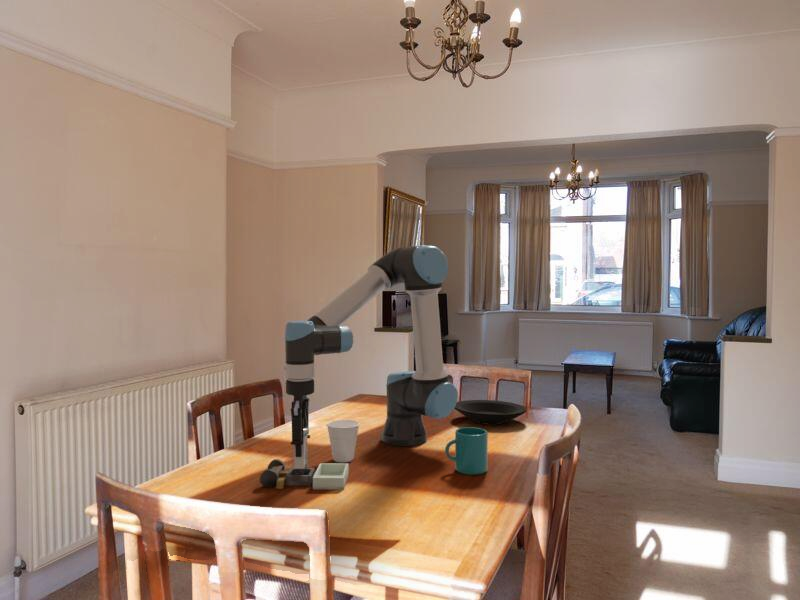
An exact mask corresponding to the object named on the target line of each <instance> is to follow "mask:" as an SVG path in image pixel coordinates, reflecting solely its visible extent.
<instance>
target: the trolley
mask: <svg viewBox="0 0 800 600" xmlns="http://www.w3.org/2000/svg"><path fill="white" fill-rule="evenodd" d="M285 467H286V465H285V463H284V462H283V461H282V460H281V459H279V458H274V459H273V460H271V461H270V462H269V464H268V465H267V469H265V470H263V472H262V473H261V474H260V476H259V483H260V484H261V485H262V486H263V487H264V488H272V487H274V486H275V485H276V489H280V490H281V489H284V487H285V486H301V487H302V486H306V487H308V486H312V485H313V476H314V474H315V472H316V470H315V469H316V468H315V467H308V475H294V467H290V468H289V470H285V469H286V468H285Z"/></svg>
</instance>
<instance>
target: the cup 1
mask: <svg viewBox="0 0 800 600" xmlns="http://www.w3.org/2000/svg"><path fill="white" fill-rule="evenodd" d="M325 425H326V426H327V431H328V436H329V437H328V438H329V442H330V443H329V444H330V449H331V454H332V455H331V457H332V460H333V461H334V463H343V464H346V463H350V462H352V461H353V460H354V457H355V453H356V446H357V445H356V444H357V438H358V433H359V427H360V421H357V420H352V419H336V420H335V419H334V420H331V421H329V422H327V423H326V424H325Z"/></svg>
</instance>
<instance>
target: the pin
mask: <svg viewBox="0 0 800 600" xmlns="http://www.w3.org/2000/svg"><path fill="white" fill-rule="evenodd" d="M309 430H310V428H307V427H304V439H303V441H304V445H305V468H304V469H294V475H308V468H309V466H308V462H309V461H308V459H309V458H308V438H307V435H308V434H309V433H310V431H309ZM307 433H308V434H307Z"/></svg>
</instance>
